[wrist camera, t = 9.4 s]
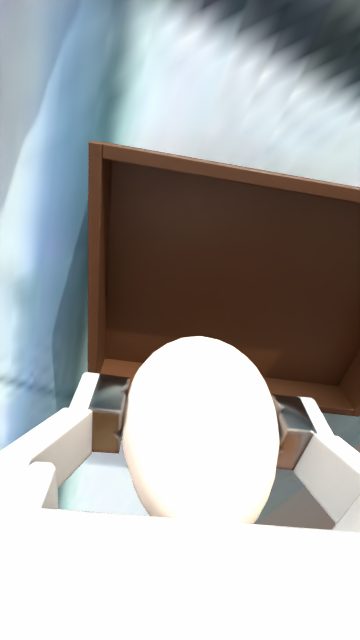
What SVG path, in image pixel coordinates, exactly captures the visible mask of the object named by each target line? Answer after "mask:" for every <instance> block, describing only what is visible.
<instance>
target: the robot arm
mask: <svg viewBox="0 0 360 640" xmlns="http://www.w3.org/2000/svg"><path fill="white" fill-rule="evenodd" d="M129 387H130V378H129V377H121V376H114V375H107V374H97V373H90V372H85V373H84V374H83V375H82V378H81V380H80V382H79V385H78V387H77V390H76V392H75V394H74V397H73V399H72V402H71V404H70V406H69V408H63V409H61V410H60V411H58V412H57V413H56V414H54V415H53V416H51V417H50V418H48V419H47V420H45V421H44V422H42V423H41V424H39V425H38V426H37V427H35V428H34V429H32V430H31V431H29V432H28V433H26V434H25V435H23V436H22V437H20V438H19V439H18V440H16V441H15V442H13V443H12V444H10V445H9V446H7V447H6V448H4V449H3V450H2V451H0V640H360V453H359V452H358V451H356V450H355V449H354V448H353V447H351V446H350V445H349V444H348V443H346V442H345V441H344V440H343V439H341V438H340V437H339V436H334V435H333V433H332V431H331V429H330V427H329V425H328V424H327V422H326V420H325V418H324V416H323V415H322V413H321V411H320V409H319V407H318V406H317V404H316V402H315V400H314V399H312V398H309V397H296V396H287V395H277V394H270V395H271V397H272V400H273V404H274V407H275V411H276V416H277V423H278V432H279V441H280V443H279V451H278V458H277V465H276V468H278V469H286V470H294V471H293V472H294V473H295V475H296V476H297V477H298V478H299V480H300V481H301V482H302V483H303V484H304V486H305V487H306V488H307V489H308V490H309V492H310V493H311V494H312V495H313V496H314V497H315V499H316V500H317V501H318V503H319V504H320V505H321V506H322V507H323V509H324V510H325V511H326V512H327V513H328V514H329V516H330V517H331V518H332V519H333V521H334V522H335V523H336V525H335V526H334V527H333V529H332V530H323V529H310V528H297V527H284V526H270V525H257V524H244V523H231V522H218V521H205V520H192V519H178V518H165V517H152V516H139V515H126V514H113V513H100V512H87V511H73V510H60V509H59V507H58V493H57V489H58V488H59V487H60V486H61V485H62V484H63V483H64V482H65V481H66V480H67V479H68V478H69V477H70V476H71V475H72V474H73V473H74V471H75V470H76V469H77V468H78V467H79V466H80V465H81V464H82V463H83V462H84V461H85V460H86V459H87V458H88V457H89V456H90V454H91V453H92V452H105V453H119V450H120V445H121V440H122V422H123V417H124V411H125V402H126V399H127V395H128V390H129Z"/></svg>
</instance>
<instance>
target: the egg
mask: <svg viewBox="0 0 360 640" xmlns="http://www.w3.org/2000/svg"><path fill="white" fill-rule="evenodd" d="M122 437H123V452H124V455H125V458H126V462H127V465H128V469H129V472H130V476H131V479H132V482H133V485H134V488H135V490H136V493H137V495H138V497H139V499H140V501H141V503H142V505H143V506H144V508H145V509H146V511H147V512H148V514H149V515H150V516H152V517H165V518H178V519H192V520H205V521H218V522H231V523H244V524H253V523H254V522H255V521H256V520H257V519H258V517H259V515H260V513H261V511H262V509H263V507H264V506H265V504H266V502H267V500H268V497H269V494H270V491H271V488H272V485H273V482H274V479H275V473H276V465H277V458H278V451H279V443H280V441H279V432H278V423H277V416H276V411H275V407H274V404H273V400H272V397H271V395H270V392H269V390H268V387H267V385H266V382H265V380H264V379H263V377H262V376H261V374H260V372H259V371H258V369H257V367H256V366H255V365H254V364H253V363H252V362H251V361H250V360H249V359H248V358H247V357H246V356H245V355H244V354H242V353H241V352H240V351H238V350H237V349H236V348H234V347H233V346H231V345H229V344H226V343H224V342H222V341H220V340H217V339H212V338H207V337H202V336H196V337H186V338H181V339H178V340H175V341H173V342H170V343H167V344H166V345H164V346H163V347H161V348H160V349H158V350H157V351H155V352H154V353H152V355H151V356H150V357H149V358H148V359H147V360H146V361H145V362H144V364H143V365H142V366H141V367H140V368H139V369H138V371H137V373H136V375H135V377H134V379H133V381H132V383H131V385H130V387H129V390H128V395H127V399H126V402H125V411H124V417H123V422H122Z"/></svg>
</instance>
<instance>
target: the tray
mask: <svg viewBox="0 0 360 640" xmlns="http://www.w3.org/2000/svg"><path fill="white" fill-rule="evenodd" d="M196 336H202V337H207V338H212V339H217V340H220V341H222V342H224V343H226V344H229V345H231V346H233V347H234V348H236V349H237V350H238V351H240V352H241V353H242V354H244V355H245V356H246V357H247V358H248V359H249V360H250V361H251V362H252V363H253V364H254V365H255V366H256V367H257V369H258V371H259V372H260V374H261V376H262V377H263V379H264V380H265V382H266V385H267V387H268V390H269V392H270V394H277V395H287V396H296V397H309V398H312V399H314V400H315V402H316V404H317V406H318V407H319V409H320V411H321V412H322V413H331V414H340V415H349V416H359V415H360V187H354V186H348V185H343V184H337V183H331V182H326V181H320V180H315V179H309V178H303V177H298V176H292V175H287V174H281V173H275V172H270V171H264V170H259V169H253V168H247V167H242V166H236V165H231V164H225V163H219V162H214V161H208V160H202V159H197V158H191V157H186V156H180V155H174V154H169V153H163V152H158V151H152V150H146V149H141V148H135V147H130V146H124V145H118V144H113V143H107V142H96V141H89V176H88V372H90V373H97V374H107V375H114V376H121V377H129V378H130V385H131V383H132V381H133V379H134V377H135V375H136V373H137V371H138V369H139V368H140V367H141V366H142V365H143V364H144V362H145V361H146V360H147V359H148V358H149V357H150V356H151V355H152V353H154V352H155V351H157V350H158V349H160V348H161V347H163V346H164V345H166V344H167V343H170V342H173V341H175V340H178V339H181V338H186V337H196Z"/></svg>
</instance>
